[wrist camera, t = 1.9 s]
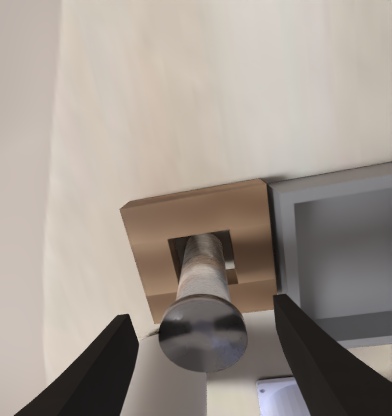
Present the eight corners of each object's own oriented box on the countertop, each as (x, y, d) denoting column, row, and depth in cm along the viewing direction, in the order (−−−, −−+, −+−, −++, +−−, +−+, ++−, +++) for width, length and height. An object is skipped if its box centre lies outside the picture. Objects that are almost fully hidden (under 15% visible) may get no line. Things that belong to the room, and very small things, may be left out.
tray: (410, 308, 19) (447, 338, 16) (280, 323, 20) (292, 353, 17) (427, 155, 15) (479, 159, 12) (266, 183, 16) (279, 193, 13)
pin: (231, 266, 19) (252, 368, 10) (185, 273, 19) (169, 376, 11) (224, 222, 17) (241, 297, 9) (175, 230, 18) (148, 309, 10)
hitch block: (271, 291, 19) (278, 308, 17) (159, 306, 20) (154, 323, 18) (259, 178, 16) (266, 183, 14) (129, 201, 17) (119, 209, 15)
